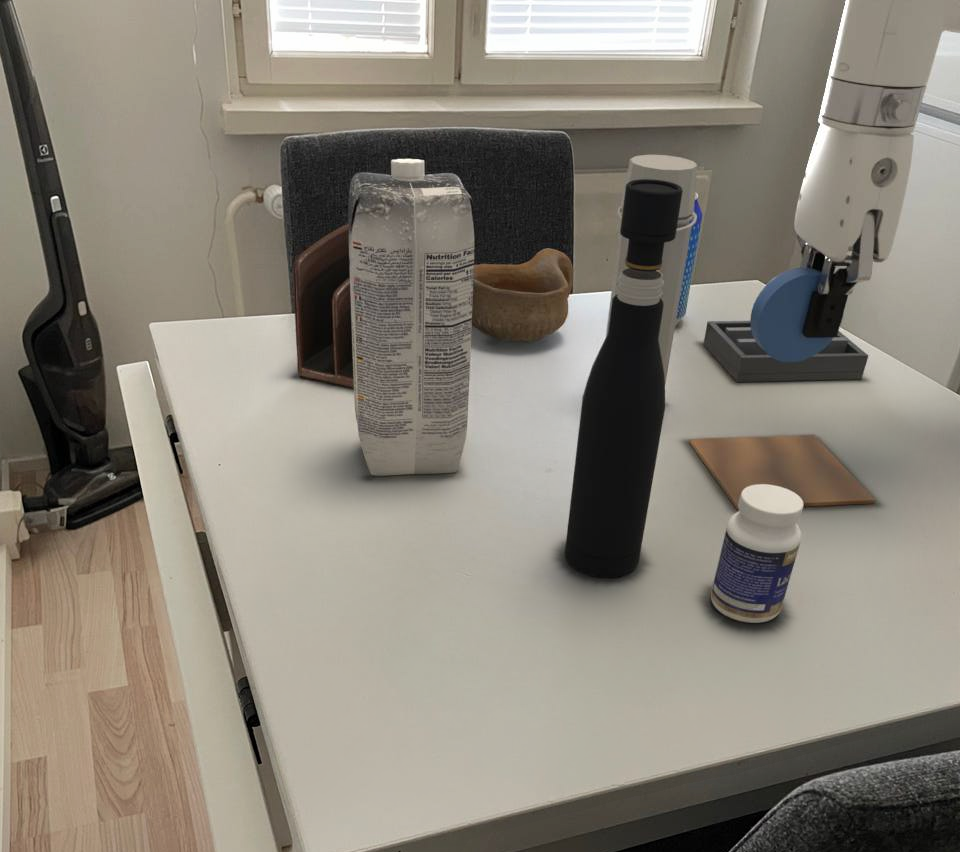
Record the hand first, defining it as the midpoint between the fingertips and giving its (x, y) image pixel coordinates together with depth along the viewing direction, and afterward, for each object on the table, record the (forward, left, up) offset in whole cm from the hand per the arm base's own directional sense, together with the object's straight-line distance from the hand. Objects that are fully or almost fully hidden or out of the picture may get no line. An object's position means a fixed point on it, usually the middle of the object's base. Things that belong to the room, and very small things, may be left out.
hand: (812, 329), depth 91 cm
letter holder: (+38, -32, -15) cm, 52 cm away
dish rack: (-12, -28, -15) cm, 34 cm away
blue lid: (0, 0, -2) cm, 2 cm away
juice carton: (+36, -5, -15) cm, 40 cm away
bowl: (+19, -40, -15) cm, 46 cm away
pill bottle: (+12, +22, -15) cm, 29 cm away
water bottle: (+11, -16, -15) cm, 24 cm away
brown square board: (0, 0, -15) cm, 15 cm away
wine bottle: (+22, +14, -15) cm, 30 cm away
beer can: (0, -43, -15) cm, 46 cm away
